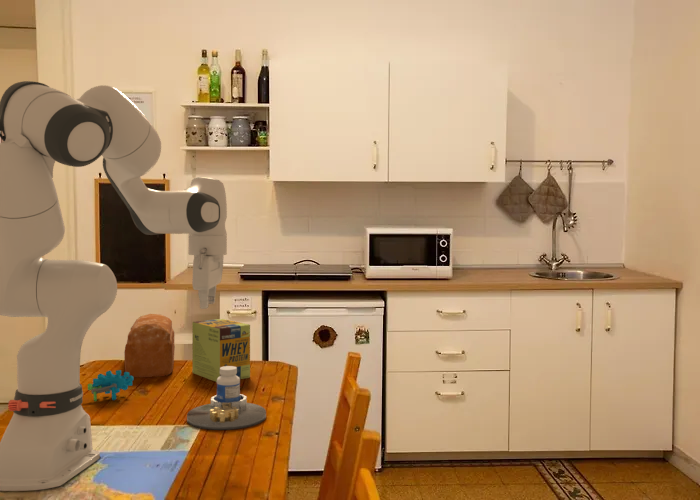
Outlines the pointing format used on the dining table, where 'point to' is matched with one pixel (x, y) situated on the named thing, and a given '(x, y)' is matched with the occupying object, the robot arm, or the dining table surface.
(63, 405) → the robot arm
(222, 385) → the pill bottle
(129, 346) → the bread
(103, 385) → the gear
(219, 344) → the protein box
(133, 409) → the dining table surface
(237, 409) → the carrier plate
